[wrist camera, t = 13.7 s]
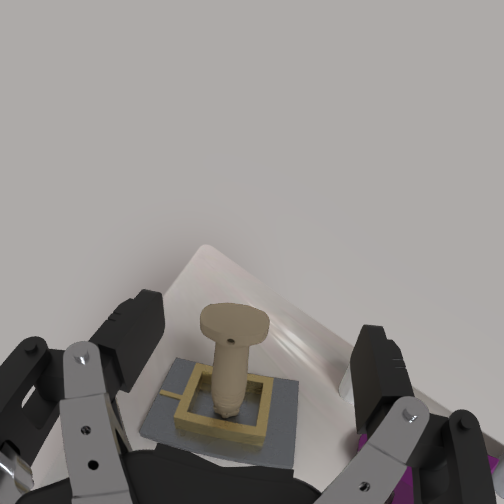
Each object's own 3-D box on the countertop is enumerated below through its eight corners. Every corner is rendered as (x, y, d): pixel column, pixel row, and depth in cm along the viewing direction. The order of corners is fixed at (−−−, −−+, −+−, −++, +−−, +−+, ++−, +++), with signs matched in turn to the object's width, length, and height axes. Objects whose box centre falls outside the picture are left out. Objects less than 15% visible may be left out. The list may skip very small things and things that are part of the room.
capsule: (337, 377, 41) (353, 339, 38) (368, 380, 40) (387, 343, 37) (339, 403, 36) (358, 366, 33) (373, 406, 36) (395, 369, 32)
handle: (205, 391, 35) (206, 299, 29) (253, 399, 35) (270, 308, 29) (197, 420, 31) (194, 329, 25) (250, 428, 31) (268, 340, 24)
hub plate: (297, 385, 39) (302, 369, 38) (291, 469, 26) (298, 457, 25) (176, 362, 41) (175, 345, 39) (140, 435, 28) (135, 421, 26)
